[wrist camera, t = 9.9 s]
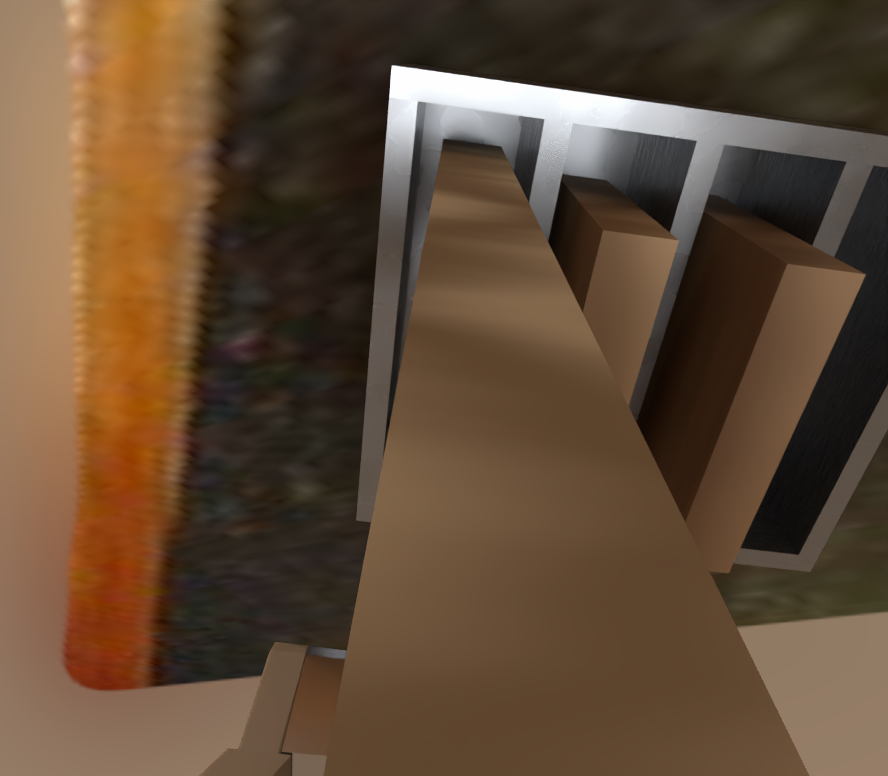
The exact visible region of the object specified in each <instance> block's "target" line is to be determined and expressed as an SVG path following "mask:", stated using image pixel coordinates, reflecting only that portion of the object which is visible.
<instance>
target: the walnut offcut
mask: <svg viewBox="0 0 888 776" xmlns="http://www.w3.org/2000/svg"><path fill="white" fill-rule="evenodd" d="M865 276H866V274H864V273H863V272H861V271H859V270H857V269H855V268H853V267H851V266H849V265H848V264H846V263H844V262H842V261H840V260H838V259H836V258H834V257H832V256H831V255H829V254H827V253H825V252H823V251H821V250H819V249H817V248H816V247H814V246H812V245H810V244H808V243H806V242H804V241H802V240H801V239H799V238H797V237H795V236H793V235H791V234H789V233H787V232H786V231H784V230H782V229H780V228H778V227H776V226H774V225H772V224H771V223H769V222H767V221H765V220H763V219H761V218H759V217H757V216H756V215H754V214H752V213H750V212H748V211H746V210H744V209H742V208H741V207H739V206H737V205H735V204H733V203H731V202H729V201H727V200H726V199H724V198H722V197H720V196H718V195H711V194H709V195H708V198H707V201H706V205H705V208H704V211H703V214H702V217H701V220H700V223H699V227H698V230H697V233H696V236H695V239H694V242H693V245H692V249H691V252H690V255H689V258H688V261H687V264H686V268H685V271H684V274H683V277H682V280H681V283H680V286H679V290H678V293H677V296H676V299H675V302H674V305H673V308H672V312H671V315H670V318H669V321H668V324H667V327H666V330H665V334H664V337H663V340H662V343H661V346H660V349H659V353H658V356H657V359H656V362H655V365H654V368H653V371H652V375H651V378H650V381H649V384H648V387H647V390H646V393H645V397H644V400H643V403H642V406H641V409H640V412H639V415H638V419H637V422H636V423H637V425H638V427H639V429H640V431H641V433H642V435H643V437H644V439H645V441H646V443H647V445H648V447H649V449H650V451H651V453H652V456H653V458H654V460H655V462H656V464H657V466H658V468H659V470H660V472H661V474H662V476H663V478H664V480H665V482H666V484H667V486H668V488H669V490H670V492H671V494H672V496H673V498H674V500H675V502H676V505H677V507H678V509H679V511H680V513H681V515H682V517H683V519H684V521H685V523H686V525H687V527H688V529H689V531H690V533H691V535H692V537H693V539H694V541H695V543H696V545H697V547H698V549H699V552H700V554H701V556H702V558H703V560H704V562H705V564H706V566H707V568H708V570H709V571H713V572H722V573H729V571H730V569H731V567H732V565H733V563H734V560H735V558H736V556H737V554H738V552H739V550H740V547H741V545H742V543H743V541H744V539H745V537H746V534H747V532H748V530H749V528H750V526H751V524H752V521H753V519H754V517H755V515H756V513H757V510H758V508H759V506H760V504H761V502H762V500H763V497H764V495H765V493H766V491H767V489H768V487H769V484H770V482H771V480H772V478H773V476H774V474H775V471H776V469H777V467H778V465H779V463H780V460H781V458H782V456H783V454H784V452H785V450H786V447H787V445H788V443H789V441H790V439H791V437H792V434H793V432H794V430H795V428H796V426H797V424H798V421H799V419H800V417H801V415H802V413H803V410H804V408H805V406H806V404H807V402H808V400H809V397H810V395H811V393H812V391H813V389H814V387H815V384H816V382H817V380H818V378H819V376H820V374H821V371H822V369H823V367H824V365H825V363H826V361H827V358H828V356H829V354H830V352H831V350H832V347H833V345H834V343H835V341H836V339H837V337H838V334H839V332H840V330H841V328H842V326H843V324H844V321H845V319H846V317H847V315H848V313H849V311H850V308H851V306H852V304H853V302H854V300H855V297H856V295H857V293H858V291H859V289H860V287H861V284H862V282H863V280H864V278H865Z"/></svg>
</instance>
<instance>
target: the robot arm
mask: <svg viewBox="0 0 888 776" xmlns="http://www.w3.org/2000/svg"><path fill="white" fill-rule="evenodd" d="M346 653H347V651H343V650H336V649H328V648H321V647H313V646H305V645H296V644H287V643H278V642H275V643H274V645H273V647H272V649H271V650H270V652H269V655H268V658H267V661H266V665H265V668H264V671H263V674H262V677H261V680H260V683H259V686H258V690H257V693H256V696H255V699H254V702H253V705H252V709H251V712H250V715H249V718H248V721H247V724H246V727H245V730H244V733H243V737H242V739H241V743H240V746H239V749H227V750H226V751H225V752H224V753H223V754H222V755H221V756H219V758H218V759H216V760H215V761H214V762H213V763H212V764H211V765H210V766H209V767H208V768H207V769H206V770H205V771H204V772H203V773H202V774H201V775H200V776H323V775H324V770H325V764H326V759H327V754H328V748H329V743H330V738H331V733H332V727H333V722H334V717H335V711H336V706H337V701H338V695H339V690H340V685H341V680H342V674H343V669H344V664H345V658H346Z"/></svg>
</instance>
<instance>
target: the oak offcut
mask: <svg viewBox="0 0 888 776" xmlns="http://www.w3.org/2000/svg"><path fill="white" fill-rule="evenodd" d="M548 243H549V245H550V247H551V249H552V251H553V253H554V255H555V257H556V259H557V261H558V264H559V266H560V268H561V270H562V272H563V274H564V276H565V278H566V280H567V282H568V284H569V286H570V288H571V290H572V292H573V294H574V296H575V298H576V300H577V302H578V304H579V306H580V308H581V310H582V313H583V315H584V317H585V319H586V321H587V323H588V325H589V327H590V329H591V331H592V333H593V335H594V337H595V339H596V341H597V343H598V345H599V347H600V349H601V351H602V353H603V355H604V357H605V360H606V362H607V364H608V366H609V368H610V370H611V372H612V374H613V376H614V378H615V380H616V382H617V384H618V386H619V388H620V390H621V392H622V394H623V396H624V398H625V400H626V402H627V404H628V406H629V403H630V399H631V396H632V393H633V390H634V386H635V383H636V380H637V377H638V373H639V370H640V367H641V363H642V360H643V357H644V354H645V350H646V347H647V344H648V341H649V337H650V334H651V331H652V328H653V324H654V321H655V318H656V315H657V311H658V308H659V305H660V301H661V298H662V295H663V292H664V288H665V285H666V282H667V279H668V275H669V272H670V269H671V266H672V262H673V259H674V256H675V253H676V249H677V246H678V243H679V240H678V239H677V238H676V237H674V236H673V235H672V234H671V233H670V232H668V231H667V230H666V229H665V228H664V227H662V226H661V225H660V224H659V223H658V222H656V221H655V220H654V219H653V218H652V217H650V216H649V215H648V214H647V213H645V212H644V211H643V210H642V209H641V208H639V207H638V206H637V205H636V204H635V203H633V202H632V201H631V200H630V199H629V198H627V197H626V196H625V195H624V194H623V193H621V192H620V191H619V190H618V189H617V188H615V187H614V186H613V185H612V184H611V183H609V182H608V181H607V180H602V179H595V178H588V177H581V176H573V175H566V174H562V177H561V182H560V187H559V192H558V197H557V201H556V206H555V211H554V216H553V221H552V226H551V230H550V235H549V240H548Z"/></svg>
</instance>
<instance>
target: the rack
mask: <svg viewBox="0 0 888 776" xmlns="http://www.w3.org/2000/svg"><path fill="white" fill-rule="evenodd" d="M443 139H450V140H457V141H465V142H472V143H479V144H486V145H494V146H501V147H502V149H503V151H504V153H505V155H506V157H507V159H508V161H509V163H510V165H511V167H512V170H513V172H514V174H515V176H516V178H517V180H518V182H519V184H520V186H521V188H522V190H523V192H524V194H525V196H526V198H527V200H528V202H529V204H530V206H531V208H532V210H533V212H534V214H535V217H536V219H537V221H538V223H539V225H540V227H541V229H542V231H543V233H544V235H545V237H546V239H547V241H548V240H549V235H550V230H551V226H552V221H553V216H554V211H555V206H556V201H557V197H558V192H559V187H560V182H561V177H562V174H566V175H573V176H581V177H588V178H595V179H602V180H607V181H608V182H609V183H611V184H612V185H613V186H614V187H615V188H617V189H618V190H619V191H620V192H621V193H623V194H624V195H625V196H626V197H627V198H629V199H630V200H631V201H632V202H633V203H635V204H636V205H637V206H638V207H639V208H641V209H642V210H643V211H644V212H645V213H647V214H648V215H649V216H650V217H652V218H653V219H654V220H655V221H656V222H658V223H659V224H660V225H661V226H662V227H664V228H665V229H666V230H667V231H668V232H670V233H671V234H672V235H673V236H674V237H676V238H677V239H678V240H679V243H678V246H677V249H676V253H675V256H674V259H673V262H672V266H671V269H670V272H669V275H668V279H667V282H666V285H665V288H664V292H663V295H662V298H661V301H660V305H659V308H658V311H657V315H656V318H655V321H654V324H653V328H652V331H651V334H650V337H649V341H648V344H647V347H646V350H645V354H644V357H643V360H642V363H641V367H640V370H639V373H638V377H637V380H636V383H635V386H634V390H633V393H632V396H631V399H630V403H629V409H630V411H631V413H632V415H633V417H634V419H635V421H636V422H637V419H638V415H639V412H640V409H641V406H642V403H643V400H644V397H645V393H646V390H647V387H648V384H649V381H650V378H651V375H652V371H653V368H654V365H655V362H656V359H657V356H658V353H659V349H660V346H661V343H662V340H663V337H664V334H665V330H666V327H667V324H668V321H669V318H670V315H671V312H672V308H673V305H674V302H675V299H676V296H677V293H678V290H679V286H680V283H681V280H682V277H683V274H684V271H685V268H686V264H687V261H688V258H689V255H690V252H691V249H692V245H693V242H694V239H695V236H696V233H697V230H698V227H699V223H700V220H701V217H702V214H703V211H704V208H705V205H706V201H707V198H708V195H709V194H711V195H718V196H720V197H722V198H724V199H726V200H727V201H729V202H731V203H733V204H735V205H737V206H739V207H741V208H742V209H744V210H746V211H748V212H750V213H752V214H754V215H756V216H757V217H759V218H761V219H763V220H765V221H767V222H769V223H771V224H772V225H774V226H776V227H778V228H780V229H782V230H784V231H786V232H787V233H789V234H791V235H793V236H795V237H797V238H799V239H801V240H802V241H804V242H806V243H808V244H810V245H812V246H814V247H816V248H817V249H819V250H821V251H823V252H825V253H827V254H829V255H831V256H832V257H834V258H836V259H838V260H840V261H842V262H844V263H846V264H848V265H849V266H851V267H853V268H855V269H857V270H859V271H861V272H863V273H864V274H866V276H865V278H864V280H863V282H862V284H861V287H860V289H859V291H858V293H857V295H856V297H855V300H854V302H853V304H852V306H851V308H850V311H849V313H848V315H847V317H846V319H845V321H844V324H843V326H842V328H841V330H840V332H839V334H838V337H837V339H836V341H835V343H834V345H833V347H832V350H831V352H830V354H829V356H828V358H827V361H826V363H825V365H824V367H823V369H822V371H821V374H820V376H819V378H818V380H817V382H816V384H815V387H814V389H813V391H812V393H811V395H810V397H809V400H808V402H807V404H806V406H805V408H804V410H803V413H802V415H801V417H800V419H799V421H798V424H797V426H796V428H795V430H794V432H793V434H792V437H791V439H790V441H789V443H788V445H787V447H786V450H785V452H784V454H783V456H782V458H781V460H780V463H779V465H778V467H777V469H776V471H775V474H774V476H773V478H772V480H771V482H770V484H769V487H768V489H767V491H766V493H765V495H764V497H763V500H762V502H761V504H760V506H759V508H758V510H757V513H756V515H755V517H754V519H753V521H752V524H751V526H750V528H749V530H748V532H747V534H746V537H745V539H744V541H743V543H742V545H741V547H740V550H739V552H738V554H737V556H736V558H735V560H734V563H735V564H744V565H753V566H762V567H771V568H779V569H788V570H797V571H806V572H810V571H811V570H812V568H813V566H814V564H815V562H816V560H817V559H818V557H819V555H820V553H821V551H822V549H823V548H824V546H825V544H826V542H827V540H828V538H829V536H830V535H831V533H832V531H833V529H834V527H835V525H836V524H837V522H838V520H839V518H840V516H841V514H842V512H843V511H844V509H845V507H846V505H847V503H848V501H849V500H850V498H851V496H852V494H853V492H854V490H855V489H856V487H857V485H858V483H859V481H860V479H861V477H862V476H863V474H864V472H865V470H866V468H867V466H868V465H869V463H870V461H871V459H872V457H873V455H874V453H875V452H876V450H877V448H878V446H879V444H880V442H881V441H882V439H883V437H884V435H885V433H886V431H887V430H888V132H886V131H880V130H874V129H867V128H860V127H853V126H846V125H839V124H832V123H825V122H818V121H811V120H804V119H797V118H790V117H783V116H776V115H769V114H762V113H755V112H748V111H741V110H734V109H727V108H720V107H713V106H706V105H699V104H692V103H685V102H678V101H671V100H664V99H657V98H650V97H644V96H637V95H630V94H623V93H616V92H609V91H602V90H595V89H588V88H581V87H574V86H567V85H560V84H553V83H546V82H539V81H532V80H525V79H518V78H511V77H504V76H497V75H490V74H483V73H476V72H469V71H462V70H455V69H448V68H441V67H434V66H427V65H420V64H413V63H408V64H399V65H392V69H391V82H390V95H389V108H388V120H387V133H386V146H385V159H384V172H383V185H382V197H381V210H380V223H379V236H378V249H377V261H376V274H375V287H374V300H373V313H372V326H371V338H370V351H369V364H368V377H367V390H366V403H365V415H364V428H363V441H362V454H361V467H360V480H359V492H358V505H357V518H356V520H357V521H365V522H371V521H372V515H373V510H374V505H375V500H376V494H377V489H378V484H379V478H380V473H381V468H382V462H383V457H384V452H385V447H386V441H387V436H388V431H389V425H390V420H391V415H392V409H393V404H394V399H395V394H396V388H397V383H398V378H399V372H400V367H401V362H402V356H403V351H404V346H405V341H406V335H407V330H408V325H409V319H410V314H411V309H412V304H413V298H414V293H415V288H416V282H417V277H418V272H419V266H420V261H421V256H422V251H423V245H424V240H425V235H426V229H427V224H428V219H429V213H430V208H431V203H432V198H433V192H434V187H435V182H436V176H437V171H438V166H439V161H440V155H441V150H442V145H443Z"/></svg>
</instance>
